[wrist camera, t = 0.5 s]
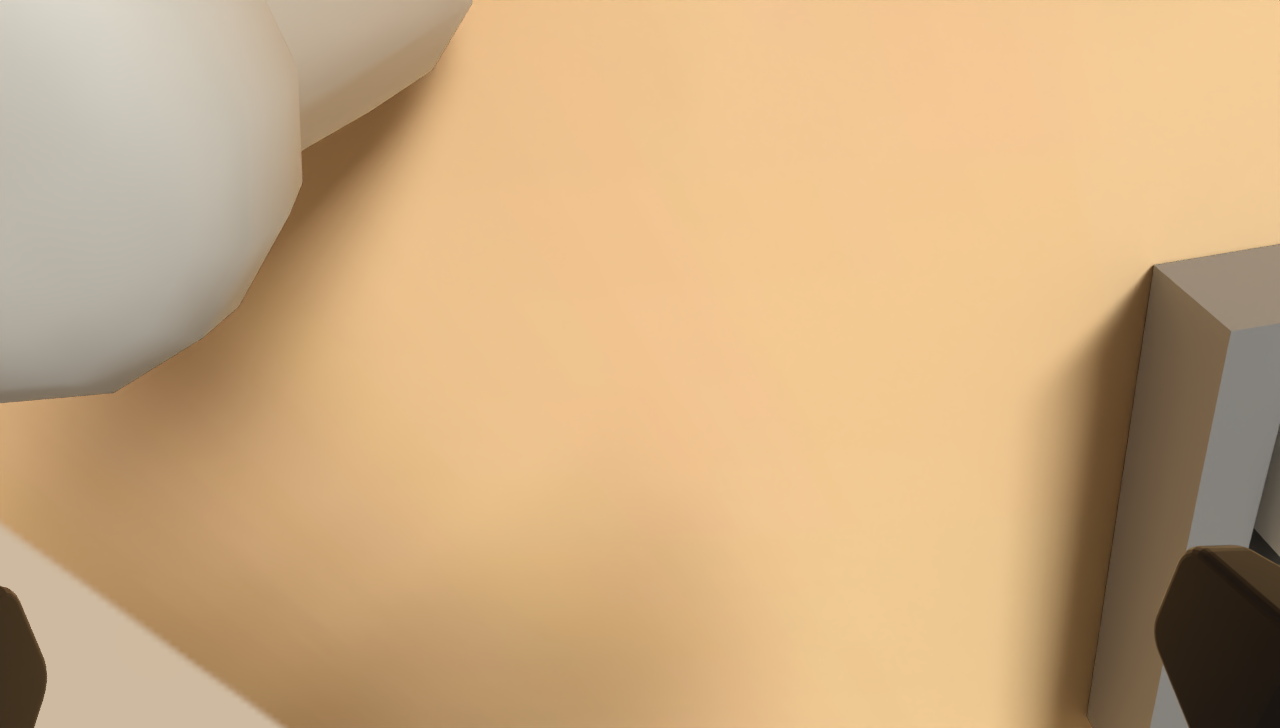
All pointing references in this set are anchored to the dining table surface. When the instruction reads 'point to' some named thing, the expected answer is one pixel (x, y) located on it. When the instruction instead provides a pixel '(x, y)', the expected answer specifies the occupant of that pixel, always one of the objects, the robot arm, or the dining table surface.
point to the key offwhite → (1271, 502)
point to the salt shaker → (167, 162)
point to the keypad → (1188, 460)
